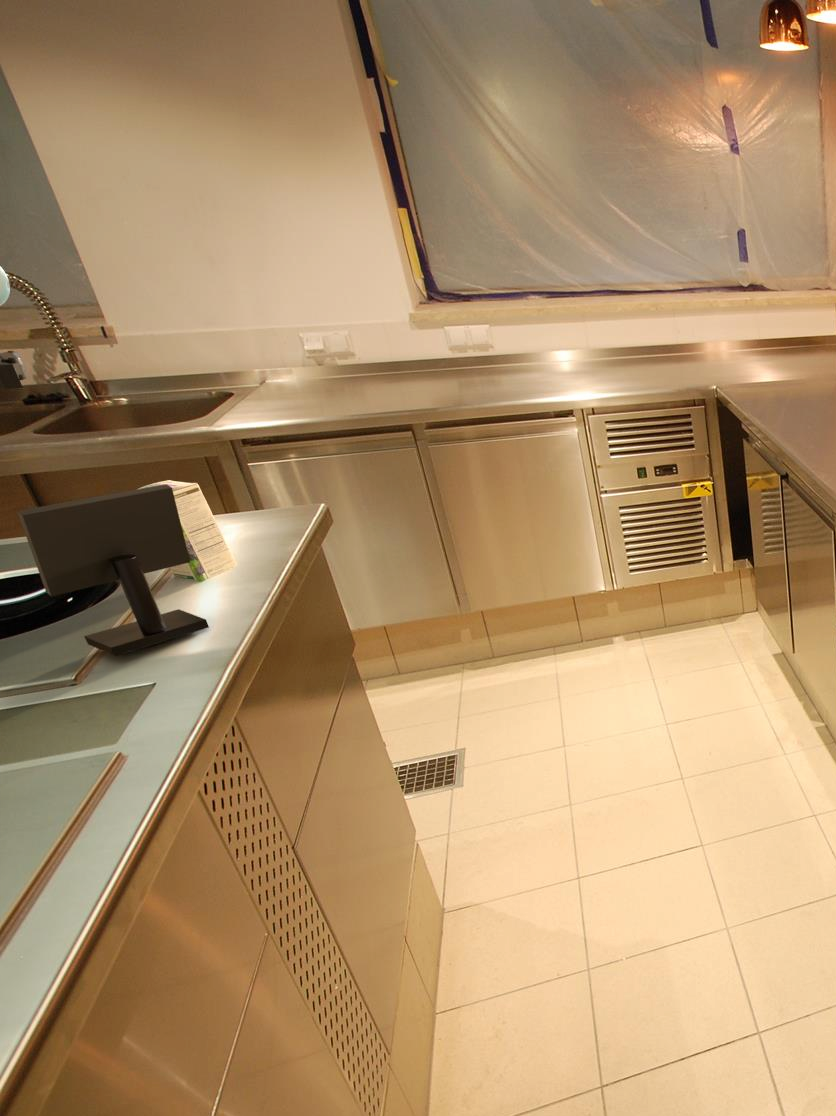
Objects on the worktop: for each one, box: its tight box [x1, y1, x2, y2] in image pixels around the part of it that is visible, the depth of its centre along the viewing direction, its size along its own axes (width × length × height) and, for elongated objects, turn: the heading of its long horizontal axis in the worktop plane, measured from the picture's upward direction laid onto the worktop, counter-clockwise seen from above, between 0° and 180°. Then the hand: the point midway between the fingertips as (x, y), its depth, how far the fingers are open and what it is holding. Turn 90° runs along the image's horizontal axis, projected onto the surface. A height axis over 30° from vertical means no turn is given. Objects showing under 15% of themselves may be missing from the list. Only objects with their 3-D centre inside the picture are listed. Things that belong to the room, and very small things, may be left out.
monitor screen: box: [17, 484, 190, 597], centre depth 103 cm, size 14×1×11 cm, turn 153°
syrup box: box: [138, 479, 238, 583], centre depth 124 cm, size 6×6×14 cm
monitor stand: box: [83, 554, 210, 657], centre depth 107 cm, size 10×7×11 cm
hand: (9, 376), depth 99 cm, fingers closed
